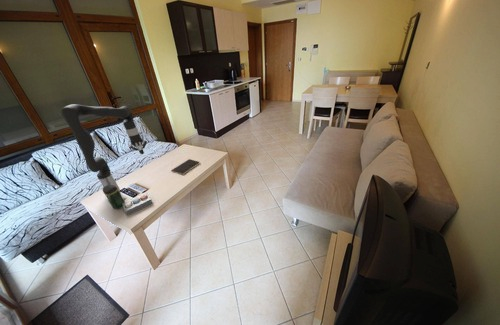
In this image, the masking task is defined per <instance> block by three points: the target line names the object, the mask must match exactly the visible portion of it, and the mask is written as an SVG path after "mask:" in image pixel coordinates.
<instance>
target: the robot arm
mask: <svg viewBox="0 0 500 325" xmlns="http://www.w3.org/2000/svg"><path fill="white" fill-rule="evenodd" d="M60 111H61V115H62V117H63V119H64V121H65V122H66V123H67V125H68V127H69V128H70V131H71V132H72V134H73V136H74V138H75V140H76V142H77V144H78V146H79V148H80V151H81V152H82V154H83V158H84V160H85V163H86V165H87V167H88V169H89V170H90V171H91V172H93V173H97V175H96V177H97V179H98V180H99V182H100V183H101V186H102V187H105V186H107V185H114V186H116V187H117V189H118V191H119V193H120V191H121V189H120V187H119V185H118V183H117V181H116V179H115V178H114V176H113V175H112V173H111V172H112V171H111V169H110V166H109V165H108V162H107V161H106V159H105V158H103V157H101V156H97V157H95V153H94V152H95V145H96V143H95V140H94V138H93V135H92V134H91V133H90V132H89V131H88V130H87V129H85V128H84V127H83V124H82V123H81V121H80V118H81V117H84V116H96V117H99V118H114V119H115V118H117V119H123V123H122V124H123V126H124V129H125V131H126V133H127V136H128V138H129V141H130V145H128V147H129V148H130V149H133V150H134V151H135V152H138V151H139V154H140V155H144V154H145V151H144V149H145V148H146V144H147V140H144V139H143V138H142V137H141V134H140V131H139V130H138V127H137V126H136V123H135V120H134V116H133V112H132V110H131V108H130V107H129V106H126V105H122V106H121V107H116V108H115V107H113V106H89V105H81V104H74V103H72V104H71V103H70V104H69V105H66V106H64V107H62V108H61V110H60Z"/></svg>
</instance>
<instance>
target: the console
mask: <svg viewBox="0 0 500 325" xmlns="http://www.w3.org/2000/svg"><path fill="white" fill-rule="evenodd" d="M143 195H146V196H147V199H145V200H143V201H142V199H141V197H142V196H143ZM135 199H139V201H140V202H138V203H136V204H134V202H133V200H135ZM128 202H131V204H132V206H130V207H128V208H126V206H125V204H126V203H128ZM152 204H153V201H152V199H151V197H150V196H149V194H148V192H144V193H143V194H140V195H138V196H136V197H134V198H132V199H130V200H126V201H125V203H123V204H122V205H123V207H122V208H123V209H124V210H123V211H124V212H125V214H126V216H127V217H128V216H129V215H131V214H134V213H135V212H138V211H140V210H143V209H144V208H146V207H148V206H150V205H152Z"/></svg>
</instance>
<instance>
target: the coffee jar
mask: <svg viewBox="0 0 500 325" xmlns="http://www.w3.org/2000/svg"><path fill="white" fill-rule="evenodd" d="M102 187H103V186H102ZM102 192H103V194H104V196H105V197H106V198H107V200H108V202H109V203H110V205H111V207H112V208H113V209H115V210H119V209H122V208H124V207H123V205H122V204H123V203H125V202H126V201H125V200H124V198H123V196H122V194H121V193H120V192H119V191H118V189H117V187H116V186H114V185H107V186H105V187H103V188H102Z"/></svg>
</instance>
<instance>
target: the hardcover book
mask: <svg viewBox="0 0 500 325" xmlns="http://www.w3.org/2000/svg"><path fill="white" fill-rule="evenodd" d="M199 164H200V161H198V160H193V159H190V158H188V159H187V160H185V161H184V162H182V163H180V164H179V165H177V166H176V167H174V168H172V169H171V172H173V173H175V174H180V175H183V176H184V175H185V174H186V173H187V172H189V171H191V170H192V169H193V168H195V167H196V166H198V165H199Z"/></svg>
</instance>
